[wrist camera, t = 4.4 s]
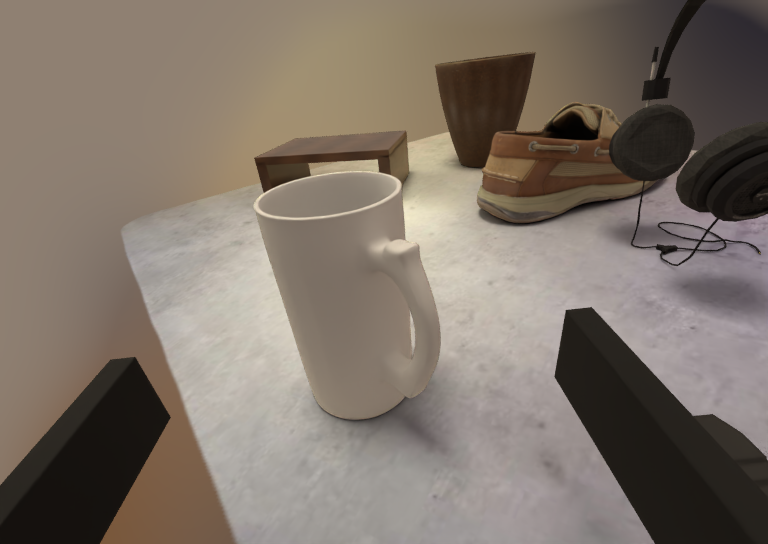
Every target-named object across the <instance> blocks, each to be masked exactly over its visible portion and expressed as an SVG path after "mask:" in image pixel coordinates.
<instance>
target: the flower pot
mask: <svg viewBox="0 0 768 544" xmlns="http://www.w3.org/2000/svg"><path fill="white" fill-rule="evenodd" d="M534 58H535V52H529V53H528V52H527V53H519V54H510V55H503V56H494V57H485V58H478V59H470V60H464V61H456V62H449V63H442V64H436V65H435V67H436V74H437V80H438V86H439V92H440V97H441V101H442V106H443V110H444V113H445V118H446V122H447V125H448V129H449V132H450V135H451V138H452V141H453V144H454V147H455V150H456V153H457V155H458V158H459V160H460V163H461V164H462V165H464V166H467V167H485V166H486V163H487V160H488V157H489V154H490V151H491V146H492V140H493V137H494V135H495V133H497V132H501V131H516V129H517V126H518V123H519V119H520V116H521V113H522V110H523V106H524V102H525V99H526V95H527V91H528V87H529V83H530V78H531V73H532V68H533V63H534Z"/></svg>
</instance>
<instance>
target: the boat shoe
mask: <svg viewBox="0 0 768 544" xmlns="http://www.w3.org/2000/svg"><path fill="white" fill-rule="evenodd" d="M621 125H622V123H620V122H619V121H617V117H616V116H615V114H613V112H612V110H610V109H606V108H604V107H602V106H599V105H594V104H581V103H578V102H573V103H570V104H568V105H566V106H564V107H563V108H562V109H560V110H559V111H558V112H557V113H556V114H555V115H554V116H553V117H552V118H551V119H550V120H549V121H548V122H547V123H546V124H545V125H544V126H545V127H544V129H542V130H541V131H533V132H521V131H501V132H497V133H495V135H494V137H493V140H492V146H491V151H490V154H489V157H488V160H487V163H486V166H485V167H484V168H483V169H482V172H483V185H482V186H481V187H480V189H479V192H478V195H477V203H478V206H479V207H480V208H482V209H483V210H485V211H487V212H489V213H490V214H492V215H494V216H496V217H498V218H501V219H503V220H506V221H509V222H513V223H528V222H536V221H541V220H545V219H548V218H551V217H554V216H557V215H559V214H562V213H564V212H566V211H567V210H569V209H571V208H573V207H575V206H577V205H580V204H583V203H588V202H594V201H603V200H608V199H611V200H613V199H620V198H625V197H627V196H633V195H636V194H638V193H640V192H642V187H643V181H638V180H634V179H632V178H630V177H628V176H626V175H624V174H623V173H622V172H621V171H620V170H619V169H617V168H616V166H615V165H614V164H613V163H612V161H611V158H610V155H609V144H610V141H611V139H612V136H613V134H614V133H615V132H616V131H617V129H618V128H619V127H620V126H621ZM656 181H657V180H656ZM656 181H645V184H644V190H646V189H648V188H649V187H650V186H652V185H653V184H654V183H655V182H656ZM644 190H643V191H644Z"/></svg>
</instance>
